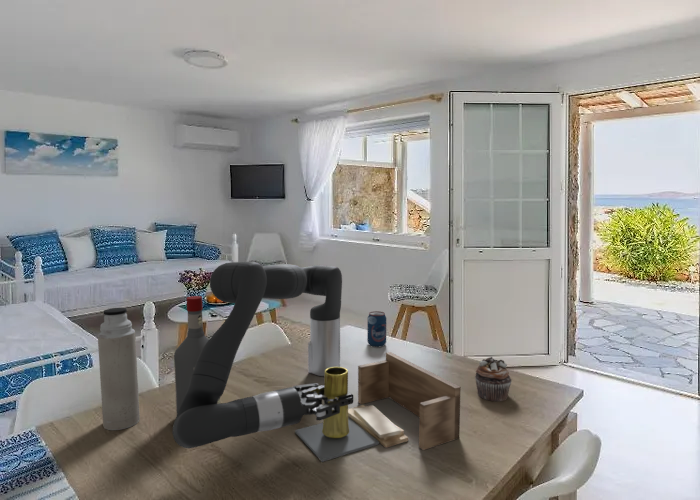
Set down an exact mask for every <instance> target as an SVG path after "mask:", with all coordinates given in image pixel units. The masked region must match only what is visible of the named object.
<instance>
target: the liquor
mask: <svg viewBox="0 0 700 500" xmlns="http://www.w3.org/2000/svg"><path fill="white" fill-rule="evenodd" d="M203 308H204V306H203V297H202V296H201V295H190V296H187V297H186V311H187V334H186V337H184V340H183V341H182V342H181V343H180V344H179V346H178V347H177V348H176V349H175V352H174V354H173V359H174V360H173V363H174V385H175V404H176V405H175V410H176V415H177V414H178V411H179V409H180V406H181V404H182V402H183V400H184V397H185V395H186V393H187V391H188V388H189V384H190V380H191V377H192V374H193V371H194V368H195V365H196V363H197V360H198V357H199V355H200V353H201V351H202V349H203V347H204V346H205V344H206V343H207V342H208V340H209V339H210V338H208V337H207V336H206V334H205V331H204V325H203V324H204V322H203ZM219 403H221V398H220V399H219V400H218V402H217V404H219Z"/></svg>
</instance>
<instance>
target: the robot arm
mask: <svg viewBox="0 0 700 500" xmlns="http://www.w3.org/2000/svg"><path fill="white" fill-rule="evenodd" d="M209 287H210V290H211V292H212V294H213V296H214V297H215V298H216V299H218V301H220V302H223V303H225V304H229V303H230V304H234V305H233V307H232V309H231V311H230V313H229V315H228V316H227V318H226V319H225V320H224V322H223V323H222V324H221V326H220V327H218V329H217V330H216V331H215V332H214V333H213V334H212V336H211V337H210V338H208V339H209V340H208V342H207V343H206V344H205V346H204V347H203V349H202V351H201V353H200V355H199V357H198V360H197V363H196V365H195V368H194V371H193V374H192V377H191V380H190V384H189V388H188V391H187V393H186V395H185V397H184V400H183V402H182V404H181V406H180V409H179V411H178V414H177V413H176V417H175V419H174V422H173V425H172V437H173V439H174V442H175V443H176V445H178V446H180V448H181V447H182V448H184V449H194V448H197V447H201V446H205V445H208V444H212V443H215V442H219V441H222V440H225V439H228V438H236V437H241V436H246V435H251V434H255V433H258V432H267V431H268V432H269V431H271V430H276V429H280V428H283V427H284V428H285V427H289V426H293V425H296V424H298V423H300V422H301V420H302V418H303V416H313V415H315V419H316V421H318V422H319V421H323V419H326V418H328V417H331V416H333V415H336V414H339V413H340V407H341V406H345V405H348V406H349V405H352V404H353V403H354V394H353V393H351V392H348V394H345V395H340V396H337V397H328V396H327V395H324V385H319V383H316V382H315V383H306V384H299V385H293V386H291V387H284V388H280V389H275V390H272V391H266V392H261V393H259V394H256V395H252V396H249V397H248V396H247V397H243V398H238V399H234V400H231V401H228V402H222V403H221V402H220V403H219V404H217V402H218V400H219V399H220V400H221V397H222V396H223V395H224V392H225V390H226V386H227V383H228V380H229V378H230V374H231V372H232V367H233V363H234V362H235V358H236V356H237V352H238V350H239V349H240V348H239V347H240V345H241V343H242V341H243V340H244V337H245V336H246V333H247V331H248V329H249V326H250V325H251V324H252V321H253V318H254V317H255V315H256V313H257V310H258V308H259V306H260V304H261V302H262V300H263V299H271V300H272V299H273V300H274V299H275V300H287V299H294V298H297V297H299V296H301V295H302V294H303V293H304V294H307V295H313V296H320V297H321V296H323V297H325V298H324V299H325V300H324V302H323V303H322V304H319V305H316V306H313V307H311V309H310V310H309V327H310V328H309V330H310V331H309V333H310V336H309V337H310V338H309V339H310V341H309V342H308V343H307V345H308V346H307V354H308V357H307V358H308V360H307V361H308V367H307V369H308V370H307V371H308V373H309V374H313V375H315V376H320V377H324V375H325V370H326V369H327V368H330V367H341V308H342V289H343V275H342V271H341V268H339V267H338V266H334V265H320V264H319V265H318V264H317V265H309V266H305V267H302V266H301V267H300V266H299V265H297V264H290V263H275V264H267V265H262V264H260V263H258V262H256V261H233V262H232V261H230V262H224V263H222V264H220V265H218V267H216V268H215V269H214V270H213V271H212V273H211V276H210V279H209ZM329 401H333V402H330V403H328V402H329Z"/></svg>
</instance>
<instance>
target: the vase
mask: <svg viewBox="0 0 700 500" xmlns="http://www.w3.org/2000/svg"><path fill="white" fill-rule="evenodd" d="M323 377H324V382H323V383H324V385H323V386H324V395H327V396H328V397H337V396H340V395H345V394H349V391H348V390H349V389H348V388H349V387H348V386H349V371H348V369H347V368H345V367H343V366H340V367H330V368H327V369H326V370H325V375H324V376H323ZM330 402H333V401H329V402H328V403H330ZM348 409H349V405H345V406H341V407H340V413H339V414H336V415H333V416H331V417H328V418H326V419H323V420H322V421H323V422H322V423H323V430H322V433H323V434H324V435H325V436H327V437H330V438H342V437H344V436H346V435H347V434H348V433H349V426H348Z"/></svg>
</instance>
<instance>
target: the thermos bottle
mask: <svg viewBox="0 0 700 500" xmlns="http://www.w3.org/2000/svg"><path fill="white" fill-rule="evenodd" d="M127 312H128V309H127V308H126V307H111V308H107V309H104V310H103V315H104V316H103V319H104V320H103V321H104V322H102V323H101V324H100V329H99V331H100V332H99V333H98V334H97V345H98V363H99V364H98V365H99V379H100V394H101V396H100V397H101V411H102V413H101V414H102V426H103V428H104V429H105V430H108V431H119V430H120V431H121V430H125V429H128V428H131V427H133V426H136V424H138V423H139V422H140V418H141V415H140V414H141V413H140V399H139V398H140V397H139V396H140V395H139V382H138V381H139V380H138V360H137V359H138V357H137V340H136V330H135V329H134V328H133V327H132V326H133V323H132V321H131V320H130V319H128V314H127Z"/></svg>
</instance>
